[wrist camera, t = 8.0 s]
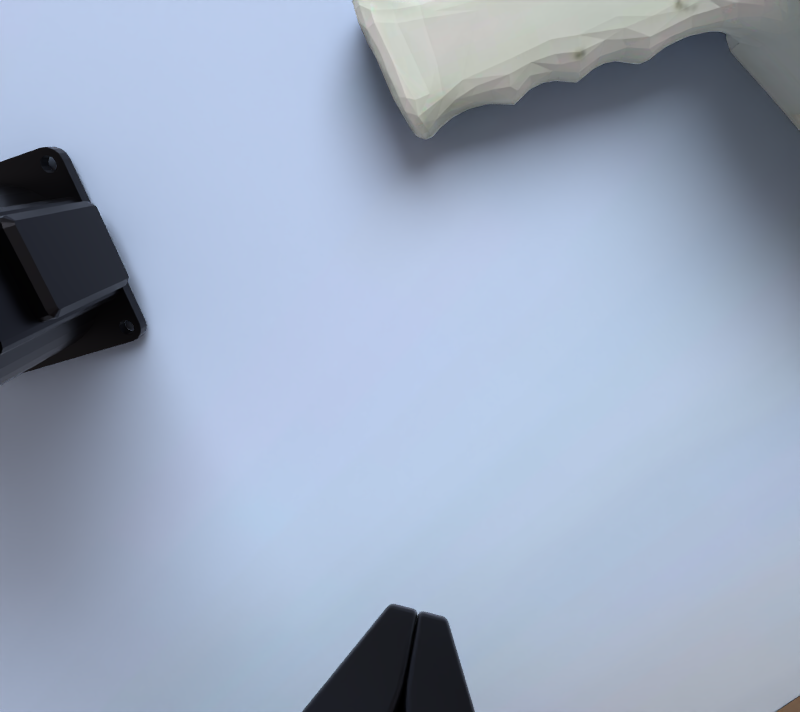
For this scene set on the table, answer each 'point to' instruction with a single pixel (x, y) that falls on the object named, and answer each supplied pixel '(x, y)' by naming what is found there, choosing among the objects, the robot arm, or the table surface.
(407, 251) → the table surface
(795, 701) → the wooden stand
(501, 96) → the tape dispenser
